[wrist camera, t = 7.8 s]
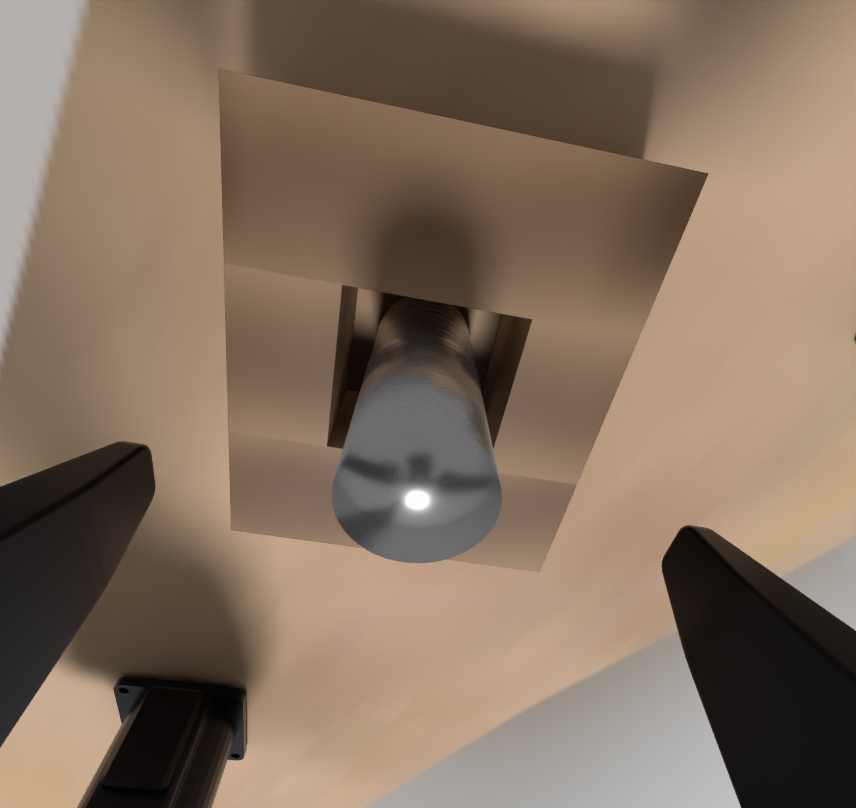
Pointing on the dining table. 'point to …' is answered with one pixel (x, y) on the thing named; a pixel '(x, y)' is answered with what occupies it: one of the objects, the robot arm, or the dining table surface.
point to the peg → (418, 442)
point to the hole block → (427, 290)
